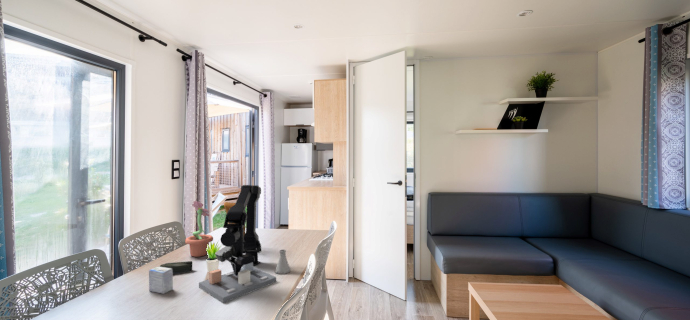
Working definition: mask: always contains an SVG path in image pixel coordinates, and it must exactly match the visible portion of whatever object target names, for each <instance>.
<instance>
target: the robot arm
mask: <svg viewBox="0 0 690 320" xmlns="http://www.w3.org/2000/svg"><path fill="white" fill-rule="evenodd" d="M240 186H241V187H240V192H239V193H238V197H237V199H236V201H235V203H236V204H235V205H234V206H232V207H231V208H230V209H229V211H228V213H227V214H226V213H225V214H226V215H225V218H224V223H223V229H225V232H224V233H222V235H221V237H220V239H219V240H220V243H221V244H222V246H224V247H222V248H221V249H219V250H216V252H215V253H214V255H215V257H216V259H217V261H219V262H220V263H225V262H226V261H227V262H229V263H230V264H231V268H232V272H233V271H234V274H235V276H237V275H238V272H240V270H241V269H242V266H243V265H246V264H249V263H252V262H253V266H256V265H259V264H261V261H259V253H261V252H262V244H261V242H260V240H259V235H258V233H257V231H256V225H257V224H256V223H257V219H256V218H257V202H258V201H259V199H260V197H261V196H260V195H261V194H262V189H261V187H260V186H259V185H257V184H254V185H252V184H243V185H240ZM228 222H229V223H235V224H228ZM244 225H245V235H244V228H243V227H244Z"/></svg>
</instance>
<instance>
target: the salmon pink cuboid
mask: <svg viewBox="0 0 690 320" xmlns="http://www.w3.org/2000/svg"><path fill="white" fill-rule="evenodd" d="M221 275H222V270H221V269H220V268H217V269H215V270H211V271H209V273H208V279H209V283H211V284H214V283H217V282H220V281H221Z"/></svg>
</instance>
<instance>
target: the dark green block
mask: <svg viewBox="0 0 690 320" xmlns="http://www.w3.org/2000/svg"><path fill="white" fill-rule="evenodd" d="M158 267H165V268H171V269H172V271H173V275H174V274H183V273H190V272H192V271H193V261H192V260H189V261H176V262H166V263H161V264H160V265H159V266H158Z"/></svg>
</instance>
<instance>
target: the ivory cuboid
mask: <svg viewBox="0 0 690 320" xmlns="http://www.w3.org/2000/svg"><path fill="white" fill-rule="evenodd" d="M248 282H250V271H249V270H244V271H241V272H238V283H239V284H241V285H242V284H245V283H248Z"/></svg>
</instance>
